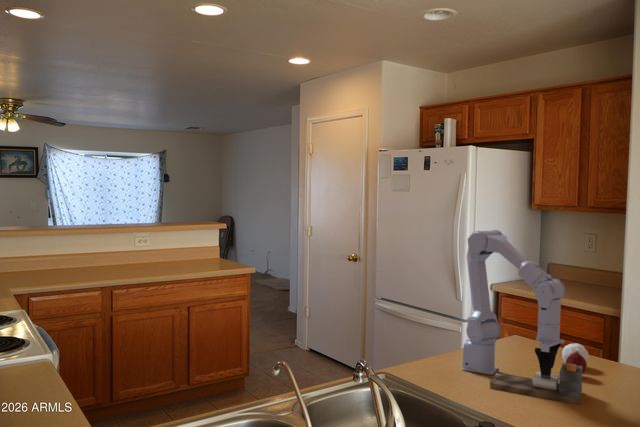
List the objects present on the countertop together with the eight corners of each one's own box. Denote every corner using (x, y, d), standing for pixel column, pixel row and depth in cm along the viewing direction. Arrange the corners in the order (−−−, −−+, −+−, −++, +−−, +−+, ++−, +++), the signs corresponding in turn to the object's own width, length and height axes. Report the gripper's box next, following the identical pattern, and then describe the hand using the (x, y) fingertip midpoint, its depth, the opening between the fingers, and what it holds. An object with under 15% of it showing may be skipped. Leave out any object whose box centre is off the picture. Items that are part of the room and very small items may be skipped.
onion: (588, 380, 160) (589, 354, 160) (568, 378, 161) (568, 352, 161) (583, 374, 166) (584, 348, 166) (563, 372, 167) (564, 347, 167)
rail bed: (490, 387, 153) (490, 361, 153) (497, 377, 162) (497, 352, 161) (579, 404, 142) (580, 376, 141) (581, 392, 150) (582, 365, 150)
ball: (575, 377, 171) (569, 360, 167) (560, 361, 178) (554, 345, 175) (596, 366, 171) (591, 349, 167) (580, 350, 178) (574, 334, 174)
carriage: (532, 387, 149) (533, 364, 148) (536, 380, 155) (536, 358, 154) (555, 391, 146) (556, 368, 145) (558, 383, 152) (559, 361, 151)
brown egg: (565, 379, 146) (565, 365, 146) (566, 376, 149) (566, 362, 149) (575, 380, 145) (576, 367, 145) (576, 378, 147) (576, 364, 147)
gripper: (561, 330, 141) (560, 381, 142) (567, 319, 154) (565, 366, 154) (533, 326, 145) (531, 376, 145) (540, 316, 157) (539, 362, 158)
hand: (547, 370), depth 150 cm, fingers open, 7 cm apart
